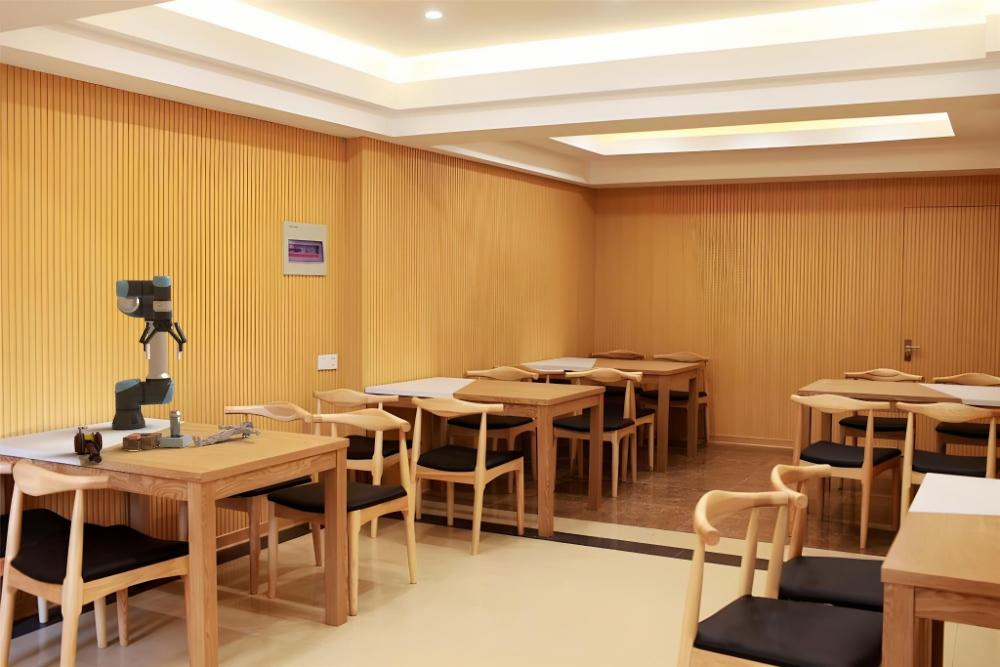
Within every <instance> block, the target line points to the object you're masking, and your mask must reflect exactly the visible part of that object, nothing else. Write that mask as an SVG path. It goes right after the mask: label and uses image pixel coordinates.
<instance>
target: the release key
mask: <svg viewBox="0 0 1000 667" xmlns="http://www.w3.org/2000/svg"><path fill="white" fill-rule="evenodd" d="M131 434H132V435H131ZM131 434H129V435H130V436H129V439H133V442H137V439H140V438H141V434H133V433H131Z"/></svg>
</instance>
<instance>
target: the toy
mask: <svg viewBox="0 0 1000 667" xmlns="http://www.w3.org/2000/svg"><path fill="white" fill-rule="evenodd" d="M217 428H218V430H220V431H219V432H216V433H214V434H211V435H209V436H208V437H206V438H203V439H202V438H201V436H200V435H199V436H198V435H197V436H196V435H192V436H191V439H192V440H193V444H194V446H195V447H198V448H199V447H202V446H207V445H214V444H215V443H216V442H218V441H219V442H221V441H228V440H229V439H230V438H231V437H232V436H234V435H235V436H237V435H241V436H242V439H247V437H250V436H251V435H255V436H261V431H260V430H258V429H254V424H253V421H248V420H247V421H243V422H242V423H241V424H240V426H238V425H234V424H229V425H223V424H220V423H219V424H218V425H217ZM221 430H223V431H221Z"/></svg>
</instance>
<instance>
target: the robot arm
mask: <svg viewBox="0 0 1000 667" xmlns="http://www.w3.org/2000/svg"><path fill="white" fill-rule="evenodd" d="M171 279H172V278H171V276H170V275H153V276H152V279H144V280H143V279H142V280H141V279H138V280H136V279H119V280H116V281H115V295H116V297H117V301H116V306H117V308H118V310H119V311H120V313H123V315H126V316H128V317H131V318H134V319H143V320H144V321H143V323H145V328H144V329H143V332H142V334H141V336H140V338H139V340H138V343H139V344H142V345H143V352H145V360H148V374H147V375H146V376H145V380H144V381H142V380H141V378H138V377H137V378H129V379H123V380H120V381H118V382H116V383H115V385H114V397H115V398H114V399H115V401H114V402H115V403H114V404H115V406H114V407H115V408H114V409H115V413H114V416H113V419H112V422H111V429H112V430H117V431H123V430H124V431H126V430H127V431H128V430H138V429H143V428H146V426H147V425H146V420H145V418H144V415H143V411H142V406H151V405H168V404H170V403H172V402H173V398H174V392H175V391H174V389H175V381H174V379H172V377H171V375H169V374H168V342H167V341H168V340H167V339H168V338H167V337H168V334H169V335H170V336H171V337H172V338H173V339H174V340H175V342H176V343H177V344H176V360H181V358H182V355H181V354H182V352H183V351H184V347H183V346H184V344H186V343H187V342H188V340H187V338H186V336H185V334H184V332H183V330H182V329H181V327H180V322H179V321H175V322H173V320H172V319H173V317H174V315H173V314H174V313H173V307H172V280H171ZM172 327H174V328H175V330H176V332H177V333H176V332H175V331H174V329H173V328H172Z"/></svg>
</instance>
